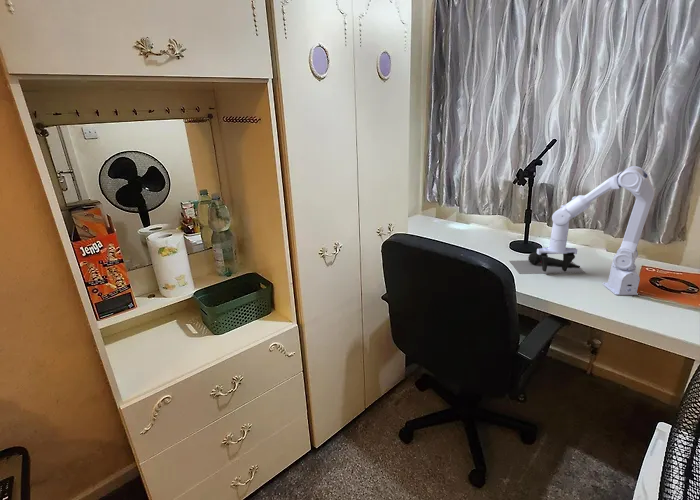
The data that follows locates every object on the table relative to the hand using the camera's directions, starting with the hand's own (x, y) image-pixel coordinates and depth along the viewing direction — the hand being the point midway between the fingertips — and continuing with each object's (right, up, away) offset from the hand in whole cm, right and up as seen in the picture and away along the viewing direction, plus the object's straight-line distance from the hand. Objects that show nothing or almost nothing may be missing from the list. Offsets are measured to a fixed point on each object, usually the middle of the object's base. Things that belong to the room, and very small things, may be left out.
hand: (554, 270), depth 155 cm
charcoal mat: (+1, +1, +8) cm, 8 cm away
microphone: (+4, +1, +8) cm, 9 cm away
